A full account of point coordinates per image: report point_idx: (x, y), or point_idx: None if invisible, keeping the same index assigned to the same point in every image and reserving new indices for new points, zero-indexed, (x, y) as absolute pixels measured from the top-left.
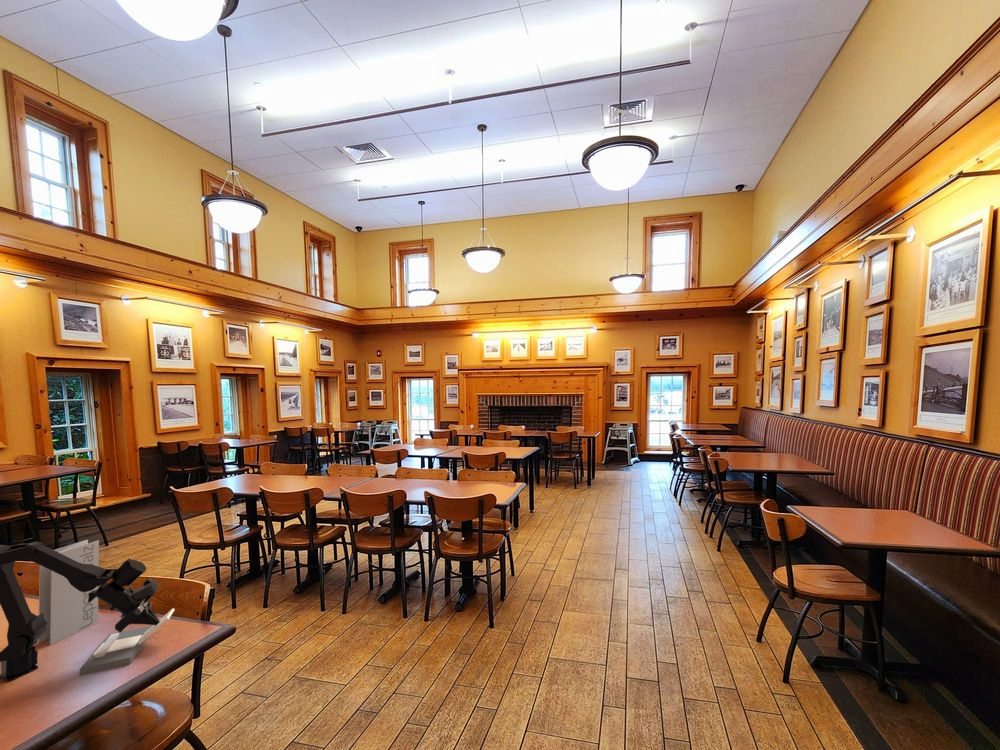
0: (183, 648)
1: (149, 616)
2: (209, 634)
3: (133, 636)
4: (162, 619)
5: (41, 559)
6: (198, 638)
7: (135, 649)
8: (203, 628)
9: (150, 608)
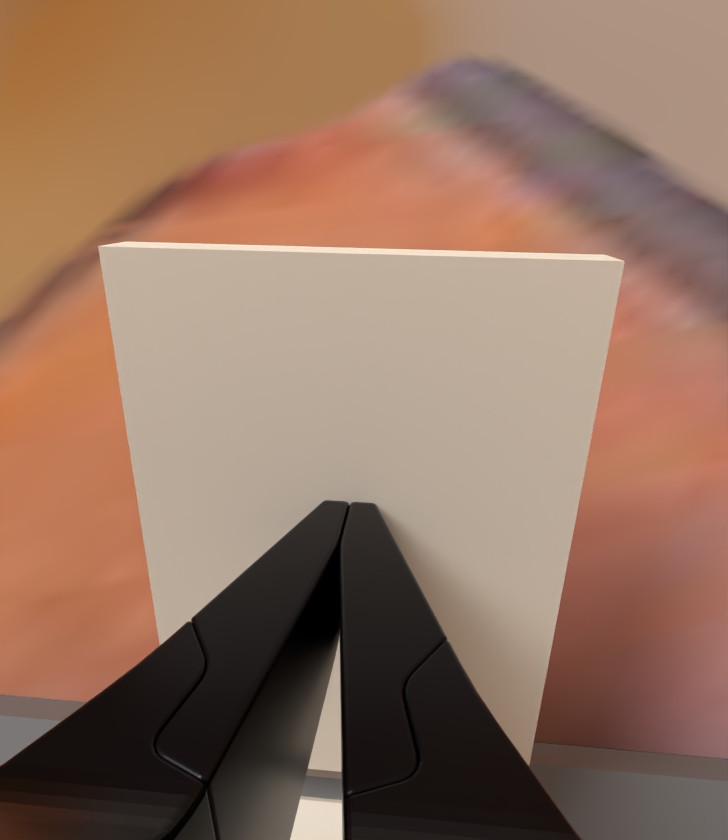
0: (635, 279)
1: (476, 704)
2: (451, 121)
3: None
4: (369, 432)
5: None
6: (484, 191)
7: (614, 779)
8: (287, 184)
9: (48, 798)
